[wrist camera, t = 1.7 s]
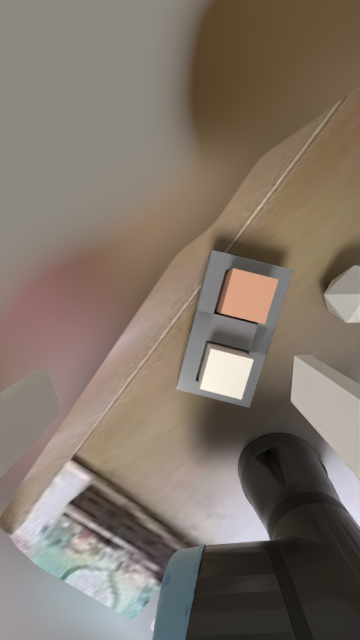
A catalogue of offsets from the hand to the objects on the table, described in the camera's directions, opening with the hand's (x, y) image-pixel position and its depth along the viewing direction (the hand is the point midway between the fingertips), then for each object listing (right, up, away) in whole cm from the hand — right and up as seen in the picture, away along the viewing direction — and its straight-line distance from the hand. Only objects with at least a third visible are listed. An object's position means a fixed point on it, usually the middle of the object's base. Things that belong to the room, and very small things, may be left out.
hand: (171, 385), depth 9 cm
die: (+27, +8, +20) cm, 35 cm away
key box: (+9, +2, +21) cm, 23 cm away
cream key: (+7, -3, +19) cm, 21 cm away
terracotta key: (+10, +7, +18) cm, 22 cm away
